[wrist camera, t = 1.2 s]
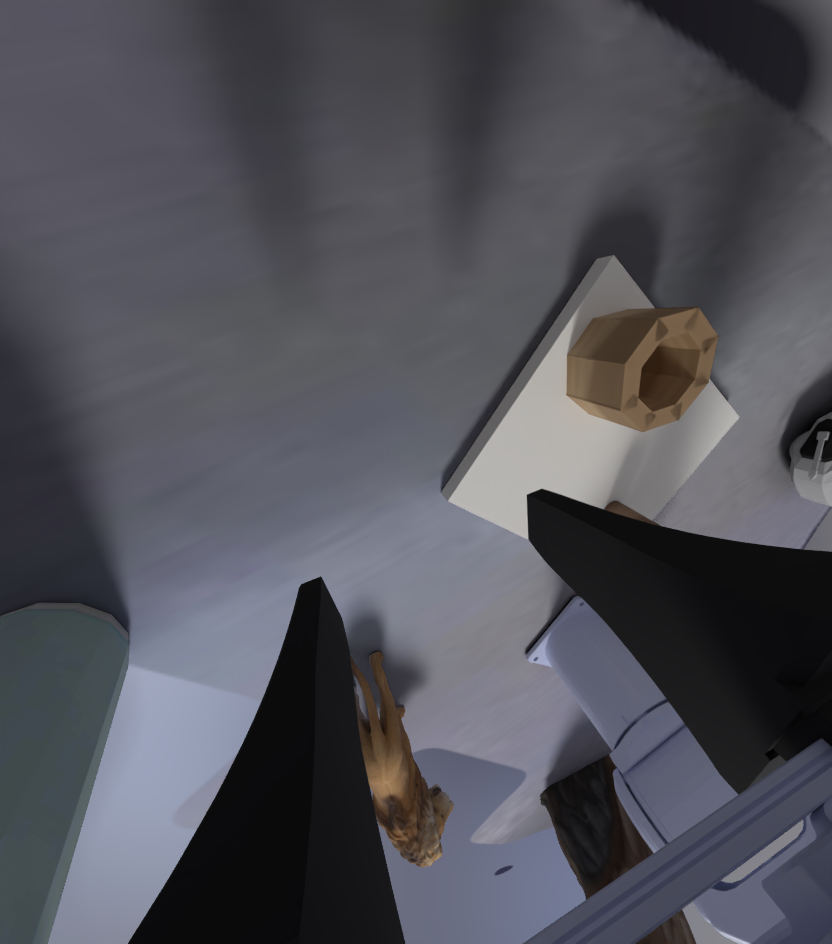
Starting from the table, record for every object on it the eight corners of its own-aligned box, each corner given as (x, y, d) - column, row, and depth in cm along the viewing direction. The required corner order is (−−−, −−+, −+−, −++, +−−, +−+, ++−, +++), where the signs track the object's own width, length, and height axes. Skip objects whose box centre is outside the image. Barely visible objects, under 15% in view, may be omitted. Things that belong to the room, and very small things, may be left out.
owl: (591, 797, 54) (727, 1023, 37) (523, 827, 51) (638, 1092, 33) (613, 752, 49) (782, 990, 32) (539, 781, 46) (684, 1067, 28)
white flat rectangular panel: (722, 413, 27) (739, 417, 26) (595, 567, 30) (605, 576, 29) (596, 258, 19) (614, 255, 18) (440, 492, 22) (447, 501, 21)
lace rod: (624, 505, 26) (696, 547, 21) (610, 521, 26) (679, 566, 21) (612, 497, 25) (685, 539, 20) (599, 514, 25) (667, 559, 21)
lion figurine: (430, 721, 32) (470, 850, 24) (379, 750, 32) (404, 891, 24) (370, 632, 25) (400, 773, 17) (304, 666, 25) (304, 828, 17)
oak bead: (660, 348, 21) (731, 354, 17) (602, 426, 22) (658, 446, 19) (611, 290, 18) (683, 283, 15) (548, 381, 20) (602, 394, 16)
